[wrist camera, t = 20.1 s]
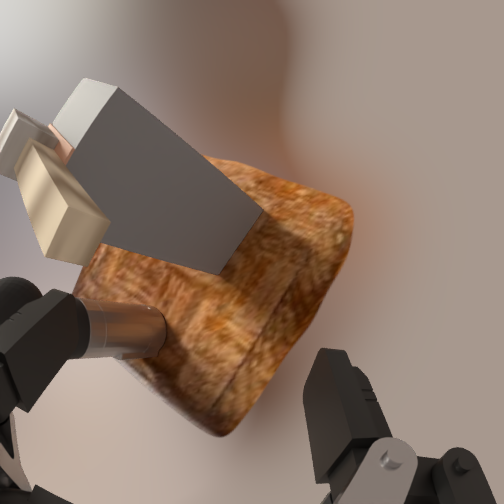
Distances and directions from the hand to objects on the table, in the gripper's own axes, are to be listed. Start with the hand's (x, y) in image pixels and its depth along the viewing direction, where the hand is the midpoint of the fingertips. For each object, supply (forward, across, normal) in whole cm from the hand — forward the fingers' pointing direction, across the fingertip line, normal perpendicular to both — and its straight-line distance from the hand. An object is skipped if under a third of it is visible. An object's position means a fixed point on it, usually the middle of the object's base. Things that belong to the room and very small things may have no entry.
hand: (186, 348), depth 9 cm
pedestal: (+42, +3, +7) cm, 42 cm away
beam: (+13, +15, -2) cm, 19 cm away
